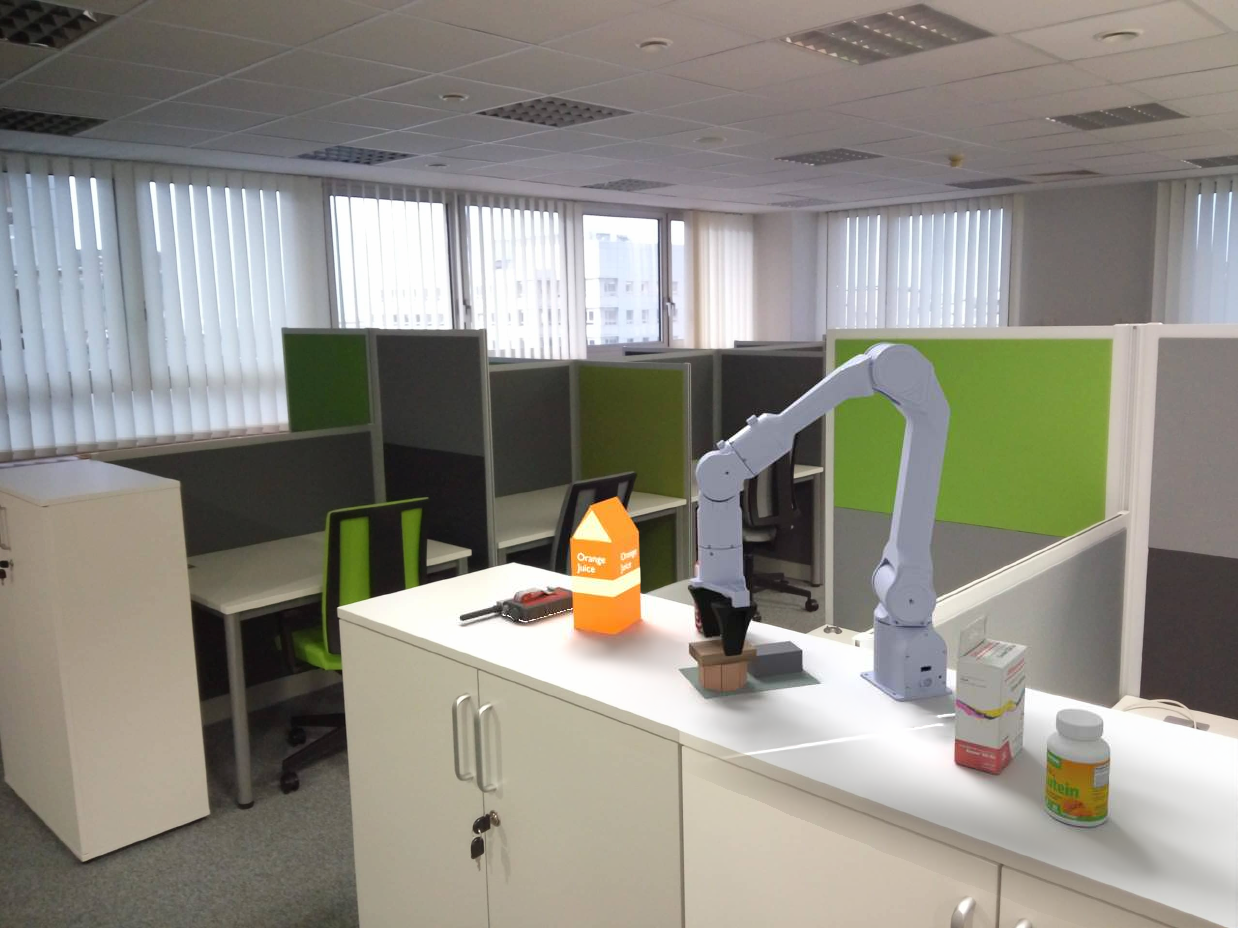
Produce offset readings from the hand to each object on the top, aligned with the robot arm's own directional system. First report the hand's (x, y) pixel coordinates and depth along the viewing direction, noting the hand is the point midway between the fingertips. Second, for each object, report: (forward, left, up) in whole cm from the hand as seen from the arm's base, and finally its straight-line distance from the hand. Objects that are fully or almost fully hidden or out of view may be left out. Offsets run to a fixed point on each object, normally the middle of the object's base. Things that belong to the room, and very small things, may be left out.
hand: (722, 645), depth 124 cm
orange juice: (+31, +8, -6) cm, 32 cm away
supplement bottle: (-41, -20, -6) cm, 46 cm away
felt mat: (+1, -4, -5) cm, 7 cm away
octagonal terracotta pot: (0, 0, -5) cm, 5 cm away
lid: (0, 0, -2) cm, 2 cm away
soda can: (+21, -7, -6) cm, 22 cm away
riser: (+2, -8, -5) cm, 10 cm away
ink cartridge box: (-28, -20, -6) cm, 35 cm away
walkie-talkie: (+40, +21, -6) cm, 45 cm away
